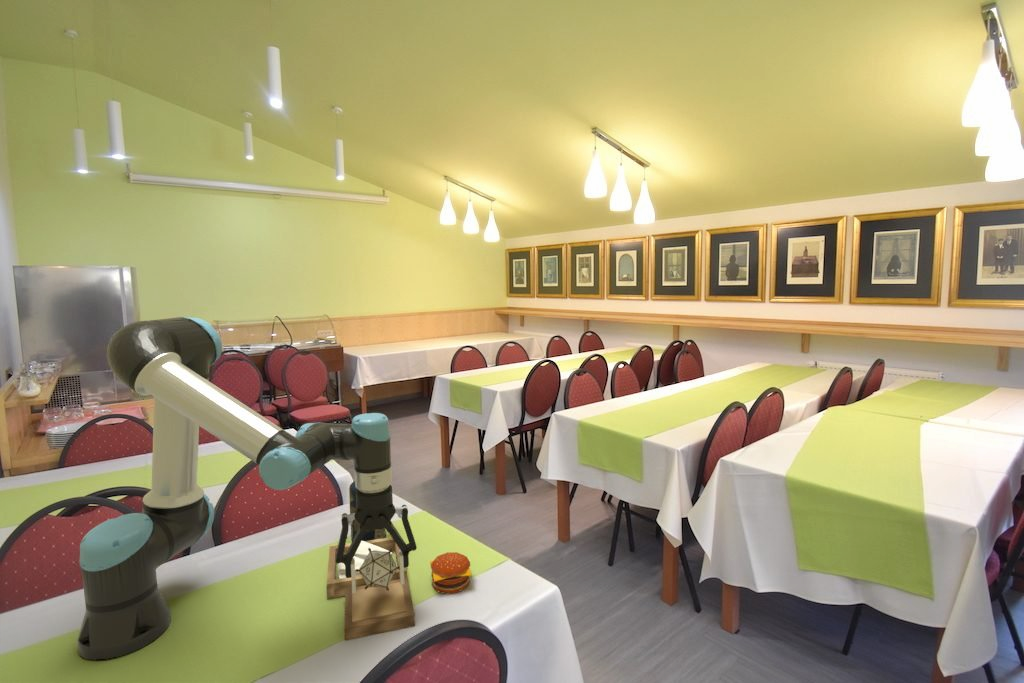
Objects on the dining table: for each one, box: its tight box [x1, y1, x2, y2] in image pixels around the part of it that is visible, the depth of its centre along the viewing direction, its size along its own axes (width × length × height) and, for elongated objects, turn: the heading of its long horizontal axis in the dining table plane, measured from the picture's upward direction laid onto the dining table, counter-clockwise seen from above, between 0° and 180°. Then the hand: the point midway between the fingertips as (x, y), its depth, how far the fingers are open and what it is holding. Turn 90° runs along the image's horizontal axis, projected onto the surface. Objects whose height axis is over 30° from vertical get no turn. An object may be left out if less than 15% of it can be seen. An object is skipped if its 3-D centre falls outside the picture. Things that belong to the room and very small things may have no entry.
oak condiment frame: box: [326, 536, 408, 600], centre depth 126 cm, size 18×18×4 cm
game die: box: [355, 548, 400, 591], centre depth 109 cm, size 9×8×10 cm
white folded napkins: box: [336, 541, 394, 579], centre depth 126 cm, size 12×4×11 cm
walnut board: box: [343, 577, 416, 641], centre depth 110 cm, size 14×14×3 cm
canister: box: [348, 480, 387, 542], centre depth 140 cm, size 10×10×18 cm
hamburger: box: [429, 551, 472, 594], centre depth 121 cm, size 9×10×7 cm
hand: (378, 585), depth 110 cm, fingers closed on game die, 9 cm apart
